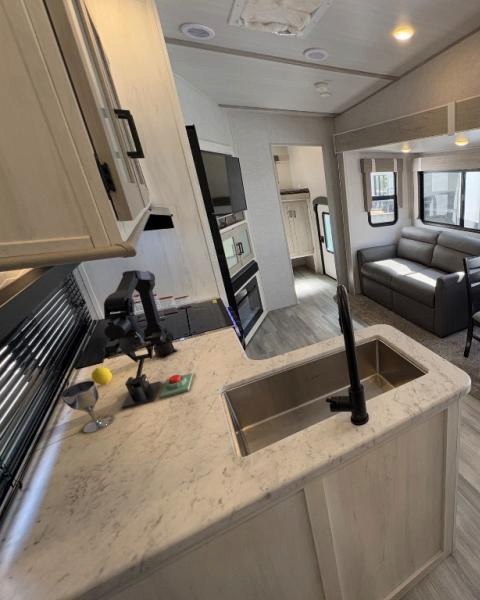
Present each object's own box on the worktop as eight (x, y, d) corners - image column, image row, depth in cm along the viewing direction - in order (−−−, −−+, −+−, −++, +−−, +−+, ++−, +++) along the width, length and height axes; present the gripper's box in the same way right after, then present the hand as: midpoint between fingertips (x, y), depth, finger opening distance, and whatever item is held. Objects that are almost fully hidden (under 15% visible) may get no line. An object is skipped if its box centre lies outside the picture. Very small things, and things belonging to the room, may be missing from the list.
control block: (167, 382, 124) (164, 375, 123) (192, 375, 128) (190, 369, 127) (160, 398, 115) (158, 392, 114) (188, 391, 119) (186, 384, 117)
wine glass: (76, 430, 102) (54, 394, 96) (104, 413, 109) (85, 379, 103) (90, 436, 99) (69, 399, 93) (118, 418, 106) (100, 383, 100)
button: (171, 379, 121) (169, 376, 121) (181, 377, 123) (180, 373, 122) (169, 385, 118) (167, 381, 118) (180, 382, 120) (178, 378, 119)
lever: (137, 359, 124) (134, 355, 123) (150, 356, 126) (148, 352, 124) (130, 389, 114) (127, 385, 112) (145, 385, 116) (142, 381, 114)
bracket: (133, 389, 121) (125, 373, 118) (160, 383, 124) (154, 366, 121) (122, 409, 111) (114, 391, 108) (153, 401, 114) (145, 384, 111)
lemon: (118, 379, 127) (110, 363, 124) (105, 388, 122) (96, 371, 119) (106, 379, 128) (98, 363, 125) (93, 388, 123) (84, 371, 120)
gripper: (89, 342, 108) (107, 378, 114) (153, 330, 115) (167, 364, 121) (101, 328, 117) (118, 362, 124) (160, 318, 124) (172, 350, 131)
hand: (144, 360), depth 125 cm, fingers closed on lever, 4 cm apart
